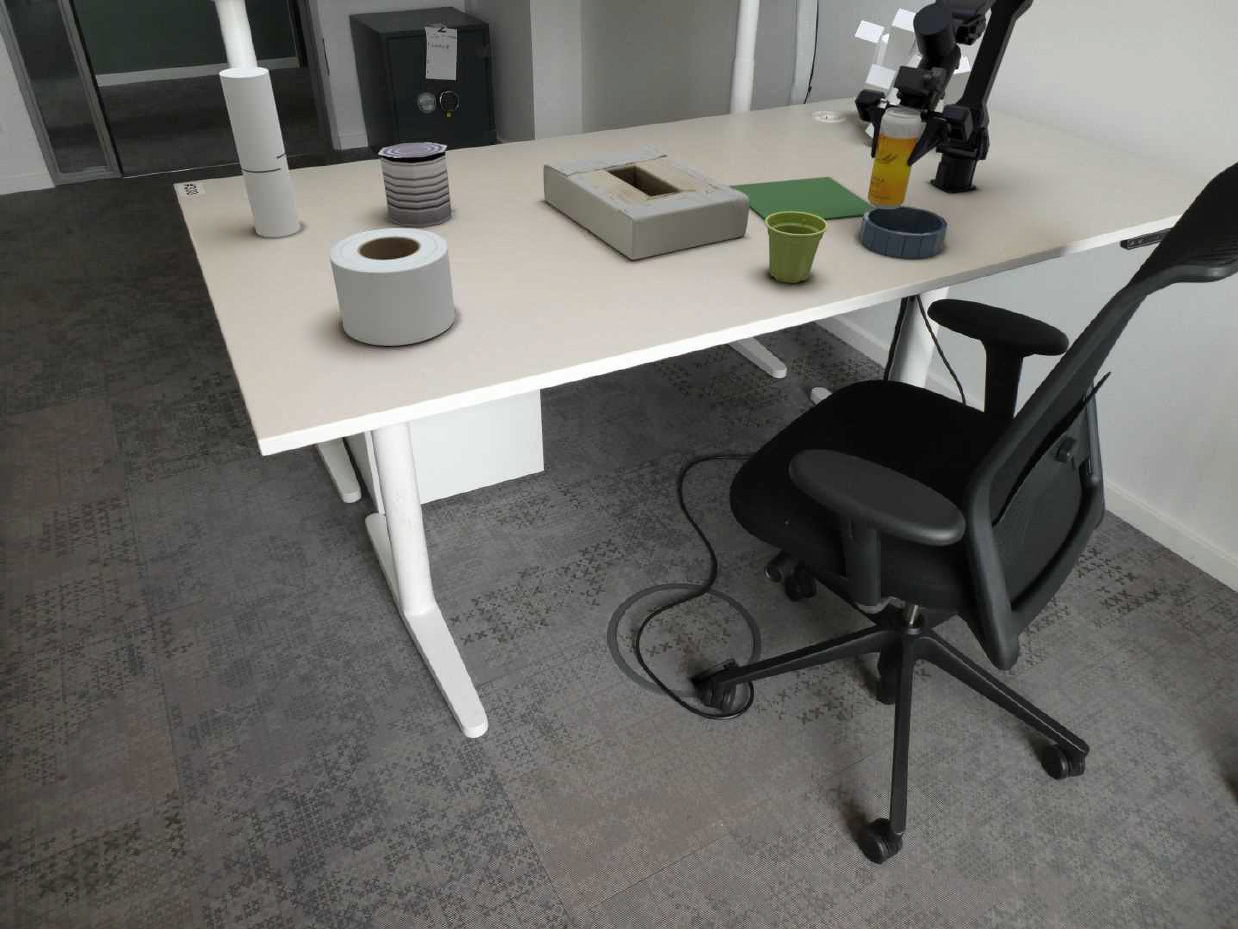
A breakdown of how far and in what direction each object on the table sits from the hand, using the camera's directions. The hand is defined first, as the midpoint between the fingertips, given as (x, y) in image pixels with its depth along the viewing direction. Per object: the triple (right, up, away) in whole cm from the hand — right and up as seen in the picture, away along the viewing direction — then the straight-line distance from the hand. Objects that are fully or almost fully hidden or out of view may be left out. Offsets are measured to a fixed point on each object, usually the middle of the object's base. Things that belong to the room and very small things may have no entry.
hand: (890, 160), depth 143 cm
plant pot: (-18, -20, -5) cm, 27 cm away
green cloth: (-10, 0, +22) cm, 24 cm away
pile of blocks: (+20, +27, +60) cm, 69 cm away
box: (-40, -6, +14) cm, 43 cm away
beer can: (+1, -6, +6) cm, 8 cm away
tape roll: (-75, -29, -20) cm, 83 cm away
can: (-79, -6, +13) cm, 81 cm away
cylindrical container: (-102, -10, +6) cm, 103 cm away
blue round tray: (+4, -12, +7) cm, 14 cm away
